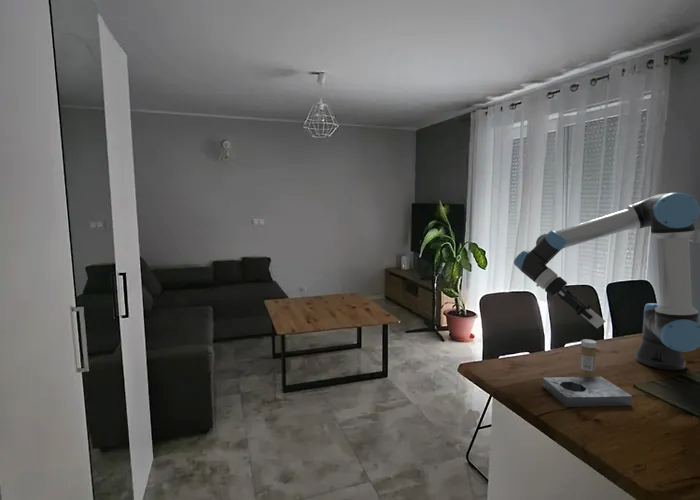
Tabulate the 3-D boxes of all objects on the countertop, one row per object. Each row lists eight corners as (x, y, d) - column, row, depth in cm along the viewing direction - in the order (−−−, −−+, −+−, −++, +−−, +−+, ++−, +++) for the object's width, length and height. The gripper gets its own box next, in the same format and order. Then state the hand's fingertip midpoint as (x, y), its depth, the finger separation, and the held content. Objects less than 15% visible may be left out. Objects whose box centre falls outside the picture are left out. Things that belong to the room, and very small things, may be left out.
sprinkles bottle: (597, 378, 137) (599, 341, 136) (590, 381, 135) (592, 343, 134) (583, 373, 141) (585, 337, 140) (576, 376, 139) (578, 340, 137)
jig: (601, 385, 132) (601, 376, 132) (631, 405, 118) (632, 396, 118) (542, 386, 132) (542, 377, 131) (566, 406, 118) (566, 397, 118)
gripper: (549, 291, 159) (596, 330, 148) (537, 289, 139) (590, 334, 128) (563, 277, 157) (611, 316, 146) (553, 273, 136) (608, 318, 126)
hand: (601, 324), depth 137 cm, fingers open, 13 cm apart
